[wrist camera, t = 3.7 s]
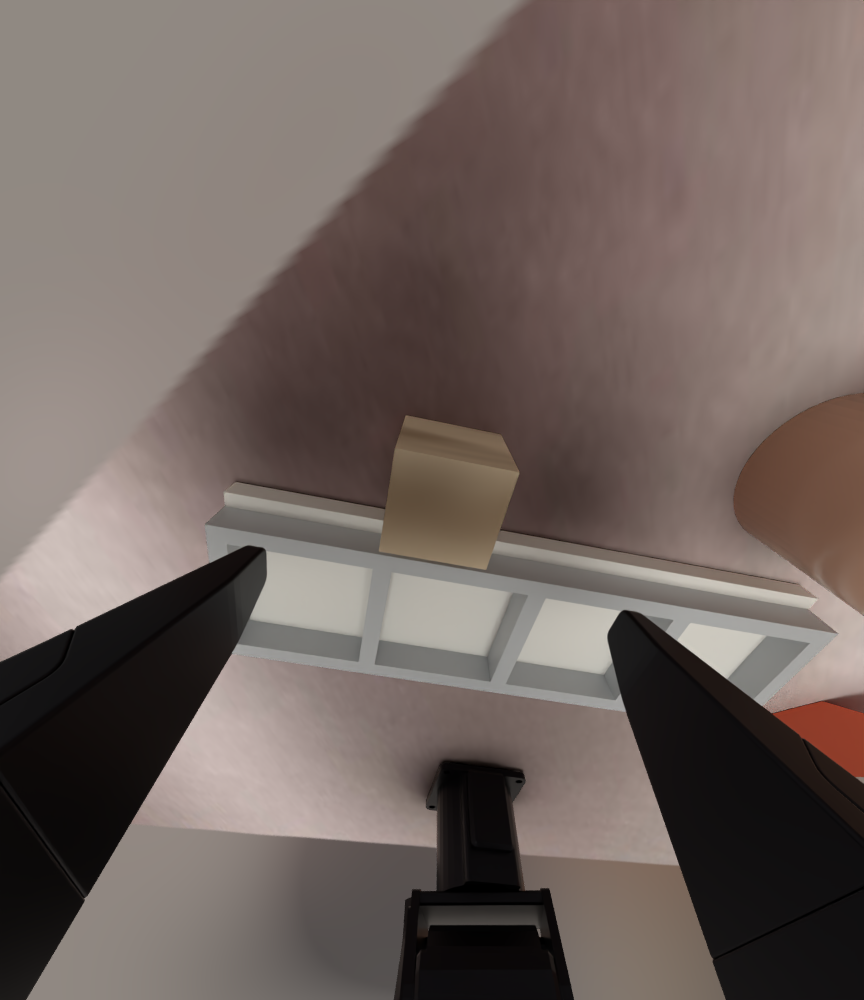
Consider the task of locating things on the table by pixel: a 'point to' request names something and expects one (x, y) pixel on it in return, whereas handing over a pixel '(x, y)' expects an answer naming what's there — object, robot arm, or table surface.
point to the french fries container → (831, 732)
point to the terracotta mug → (812, 495)
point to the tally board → (495, 606)
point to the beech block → (447, 493)
